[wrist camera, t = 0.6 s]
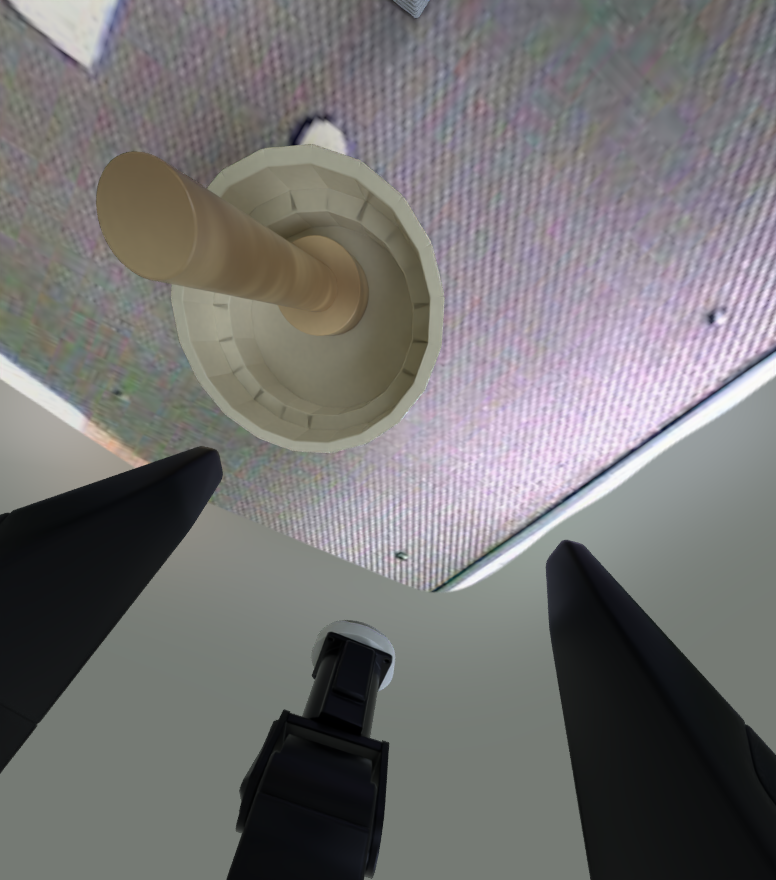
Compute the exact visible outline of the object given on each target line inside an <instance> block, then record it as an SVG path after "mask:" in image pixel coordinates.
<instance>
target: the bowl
mask: <svg viewBox="0 0 776 880" xmlns="http://www.w3.org/2000/svg"><path fill="white" fill-rule="evenodd" d="M207 189H208V190H210V191H211V192H213V193H214V194H216V195H217V196H219V197H221V198H222V199H224V200H225V201H227V202H228V203H230V204H231V205H233V206H235V207H236V208H238V209H239V210H241V211H242V212H244V213H245V214H247V215H249V216H250V217H252V218H253V219H255V220H256V221H258V222H259V223H261V224H263V225H264V226H266V227H267V228H269V229H270V230H272V231H273V232H275V233H277V234H278V235H280V236H281V237H283V238H284V239H286V240H287V241H289V242H291V243H292V242H293V241H295V240H297V239H299V238H301V237H304V236H308V235H320V236H325V237H328V238H330V239H333V240H334V241H336V242H338V243H339V244H340V245H342V246H343V247H344V248H345V249H346V250H347V251H348V252H349V253H350V254H351V255H352V256H353V257H354V258H355V259H356V260H357V261H358V262H359V264H360V265H361V267H362V268H363V270H364V272H365V275H366V278H367V282H368V287H369V299H368V304H367V308H366V311H365V313H364V315H363V317H362V319H361V320H360V322H359V323H358V324H357V325H356V326H355V327H354V328H353V329H351V330H350V331H348V332H346V333H344V334H341V335H336V336H315V335H309V334H306V333H304V332H301V331H300V330H298V329H296V328H295V327H294V326H292V325H291V324H290V323H289V322H288V321H287V320H286V318H285V317H284V316H283V314H282V313H281V311H280V309H279V307H278V305H275V304H270V303H265V302H260V301H255V300H250V299H245V298H240V297H235V296H230V295H225V294H219V293H214V292H209V291H204V290H199V289H194V288H189V287H184V286H179V285H174V284H172V288H171V298H172V299H171V303H172V308H173V313H174V318H175V323H176V328H177V333H178V338H179V342H180V343H181V347H182V349H183V351H184V353H185V355H186V357H187V359H188V361H189V363H190V365H191V368H192V370H193V372H194V374H195V376H196V378H197V380H198V382H200V385H201V386H202V387H203V388H204V390H205V391H206V392H207V393H208V395H209V396H210V397H211V398H212V399H213V401H214V402H215V403H216V404H217V405H218V407H219V408H220V409H221V410H222V412H223V413H224V414H226V416H228V417H229V418H230V419H232V420H233V421H234V422H236V423H237V424H239V425H240V426H241V427H243V428H244V429H246V430H247V431H248V432H250V433H251V434H252V435H254V436H255V437H258V438H259V439H262V440H264V441H267V442H270V443H272V444H275V445H278V446H280V447H283V448H286V449H289V450H291V451H300V452H316V453H333V452H337V451H341V450H345V449H349V448H353V447H357V446H361V445H364V444H367V443H369V442H370V441H372V440H373V439H375V438H376V437H378V436H379V435H381V434H383V433H384V432H386V431H387V430H389V429H390V428H392V427H393V426H395V425H396V424H398V423H399V422H400V421H401V420H402V418H403V417H404V416H405V415H406V413H407V412H408V411H409V410H410V408H411V407H412V406H413V405H414V403H415V402H416V401H417V400H418V398H419V397H420V396H421V395H422V393H423V392H424V391H425V389H426V387H427V384H428V381H429V379H430V376H431V373H432V371H433V368H434V365H435V363H436V360H437V357H438V355H439V352H440V349H441V345H442V333H443V316H444V299H445V297H444V291H443V287H442V283H441V278H440V274H439V270H438V266H437V262H436V258H435V254H434V249H433V245H432V244H431V241H430V239H429V237H428V236H427V234H426V232H425V231H424V229H423V227H422V226H421V224H420V222H419V221H418V219H417V218H416V216H415V214H414V213H413V211H412V209H411V208H410V206H409V204H408V203H407V201H406V199H405V198H404V197H403V196H402V194H401V193H399V192H398V191H397V190H396V189H395V188H393V187H392V186H391V185H390V184H389V183H387V182H386V181H385V180H384V179H383V178H381V177H380V176H379V175H378V174H377V173H375V172H374V171H373V170H372V169H371V168H369V167H368V166H367V165H366V164H365V163H363V162H361V161H360V160H358V159H355V158H352V157H349V156H346V155H343V154H340V153H337V152H334V151H331V150H328V149H325V148H322V147H319V146H316V145H311V144H308V145H295V146H283V147H271V148H264V149H260V150H259V151H257V152H255V153H253V154H251V155H249V156H247V157H245V158H244V159H242V160H240V161H238V162H236V163H234V164H232V165H231V166H229V167H227V168H225V169H223V170H222V172H220V173H219V174H218V175H217V176H216V178H215V179H214V180H213V181H212V182H211V184H210V185H209V186H208V187H207Z"/></svg>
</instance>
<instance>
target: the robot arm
mask: <svg viewBox="0 0 776 880" xmlns="http://www.w3.org/2000/svg"><path fill="white" fill-rule="evenodd" d="M222 476H223V471H222V466H221V461H220V456H219V453H218V451H217V450H215V449H212V448H208V447H204V446H199V447H196V448H193V449H190V450H187V451H184V452H182V453H179V454H176V455H173V456H170V457H167V458H164V459H161V460H158V461H155V462H153V463H150V464H147V465H144V466H141V467H138V468H135V469H132V470H129V471H126V472H124V473H121V474H118V475H115V476H112V477H109V478H106V479H103V480H100V481H98V482H94V483H92V484H89V485H86V486H83V487H80V488H77V489H74V490H71V491H68V492H65V493H63V494H60V495H57V496H54V497H51V498H48V499H45V500H42V501H39V502H37V503H33V504H31V505H28V506H25V507H22V508H19V509H16V510H13V511H12V512H11V513H4V514H1V515H0V773H1V772H2V771H3V769H4V768H5V767H6V765H7V764H8V763H9V762H10V760H11V759H12V757H14V755H15V754H16V752H17V751H18V750H19V749H20V748H21V746H22V745H23V744H24V742H25V741H26V740H27V739H28V737H29V736H30V735H31V733H32V732H33V731H34V730H35V728H36V727H37V724H38V723H39V722H40V721H41V720H42V719H43V718H44V716H45V715H46V714H47V712H48V711H49V710H50V708H51V707H52V706H53V705H54V704H55V702H56V701H57V700H58V698H59V697H60V696H61V695H62V693H63V692H64V691H65V689H66V688H67V687H68V686H69V684H70V683H71V681H73V679H74V678H75V677H76V675H77V674H78V673H79V672H80V670H81V669H82V668H83V666H84V665H85V664H86V663H87V661H88V660H89V659H90V657H91V656H92V655H93V654H94V652H95V651H96V650H97V648H98V647H99V646H100V645H101V643H102V642H103V641H104V639H105V638H106V637H107V635H108V634H109V633H110V632H111V630H112V629H113V628H114V627H115V625H116V624H117V623H118V622H119V620H120V619H121V618H122V616H123V615H124V614H125V613H126V611H127V610H128V609H129V607H130V606H131V605H132V604H133V602H134V601H135V600H136V599H137V597H138V596H139V595H140V593H141V592H142V591H143V589H144V588H145V587H146V586H147V584H148V583H149V582H150V581H151V579H152V578H153V577H154V575H155V574H156V573H157V572H158V570H159V569H160V568H161V566H162V565H163V564H164V563H165V561H166V560H167V558H168V557H169V556H170V555H171V554H172V552H173V551H174V550H175V549H176V547H177V546H178V545H179V543H180V542H181V541H182V539H183V538H184V537H185V536H186V534H187V533H188V532H189V530H190V529H191V527H192V526H193V524H194V523H195V521H196V520H197V518H198V517H199V515H200V513H201V512H202V510H203V509H204V507H205V505H206V504H207V502H208V501H209V499H210V498H211V496H212V494H213V493H214V491H215V490H216V488H217V486H218V485H219V483H220V481H221V479H222ZM546 579H547V594H548V595H547V596H548V613H549V628H550V635H551V643H552V649H553V654H554V661H555V667H556V672H557V678H558V685H559V691H560V697H561V703H562V709H563V715H564V721H565V728H566V734H567V739H568V746H569V752H570V758H571V764H572V770H573V776H574V782H575V789H576V794H577V801H578V807H579V813H580V819H581V825H582V831H583V837H584V842H585V849H586V855H587V861H588V867H589V873H590V879H591V880H776V755H775V754H774V753H773V751H772V750H771V749H770V748H769V747H768V746H767V745H766V744H765V743H764V741H763V740H762V739H761V738H760V737H759V736H758V735H757V734H756V733H755V732H754V731H753V729H752V728H751V727H750V726H748V725H746V724H745V722H744V720H743V719H742V718H741V717H740V715H739V714H738V713H737V712H736V711H735V710H734V709H733V708H732V707H731V706H730V704H728V702H727V701H726V700H725V699H724V698H723V697H722V696H721V695H720V694H719V692H718V691H717V690H716V689H715V688H714V687H713V686H712V685H711V684H710V683H709V682H708V680H707V679H706V678H705V677H704V676H703V675H702V674H701V673H700V672H699V671H698V670H697V668H696V667H695V666H694V665H693V664H692V663H691V662H690V661H689V660H688V659H687V657H686V656H685V655H684V654H683V653H682V652H681V651H680V650H679V649H678V648H677V647H676V645H675V644H674V643H673V642H672V641H671V640H670V639H669V638H668V637H667V636H666V635H665V634H664V632H663V631H662V630H661V629H660V628H659V627H658V626H657V625H656V624H655V623H654V621H653V620H652V619H651V618H650V617H649V616H648V615H647V614H646V613H645V612H644V610H643V609H642V608H641V607H640V606H639V605H638V604H637V603H636V602H635V601H634V600H633V598H632V597H631V596H630V595H629V594H628V593H627V592H626V591H625V590H624V589H623V587H622V586H621V585H620V584H619V583H618V582H617V581H616V580H615V579H614V578H613V577H612V576H611V574H610V573H609V572H608V571H607V570H606V569H605V568H604V567H603V566H602V565H601V563H600V562H599V561H598V560H597V559H596V558H595V557H594V556H593V555H592V554H591V552H590V551H589V550H588V549H587V548H586V547H585V546H584V545H582V544H580V543H577V542H573V541H569V540H563V541H561V543H560V544H559V545H558V546H557V547H556V549H555V550H554V551H553V553H552V554H551V555H550V556H549V558H548V560H547V563H546ZM392 660H393V657H392V655H391V654H389V653H386V652H384V651H381V650H379V649H376V648H374V647H371V646H368V645H366V644H363V643H361V642H358V641H355V640H353V639H350V638H348V637H345V636H343V635H340V634H337V633H335V632H328V633H327V635H326V638H325V641H324V643H323V646H322V649H321V652H320V654H319V657H318V660H317V663H316V665H315V668H314V671H313V674H312V677H313V678H314V679H315V681H314V684H313V687H312V690H311V693H310V696H309V698H308V701H307V704H306V707H305V710H304V713H303V716H298V715H295V714H292V713H290V711H287V710H285V709H284V710H283V712H282V714H281V716H280V718H279V720H276V721H274V722H273V724H272V726H271V729H270V731H269V733H268V736H267V738H266V741H265V743H264V745H263V747H262V749H261V751H260V752H259V754H258V756H257V757H256V759H255V761H254V762H253V764H252V766H251V768H250V769H249V771H248V773H247V774H246V776H245V778H244V779H243V782H242V784H241V787H240V790H239V792H240V797H241V806H240V810H239V817H238V820H237V825H236V831H237V832H239V833H242V836H241V839H240V841H239V844H238V847H237V850H236V853H235V856H234V859H233V862H232V865H231V868H230V870H229V873H228V876H227V880H364V876H365V877H368V878H371V879H372V878H373V875H374V873H375V868H376V864H377V859H378V854H379V848H380V842H381V835H382V828H383V821H384V810H385V797H386V783H387V768H388V767H387V766H388V751H389V742H386V741H383V740H382V742H381V741H378V740H374V739H371V738H370V734H371V728H372V722H373V716H374V710H375V704H376V697H377V692H378V690H379V688H380V686H381V684H382V682H383V680H384V678H385V676H386V674H387V672H388V670H389V668H390V666H391V664H392Z"/></svg>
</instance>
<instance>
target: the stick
mask: <svg viewBox="0 0 776 880" xmlns="http://www.w3.org/2000/svg"><path fill="white" fill-rule="evenodd" d="M96 206H97V215H98V220H99V224H100V227H101V230H102V233H103V235H104V238H105V240H106V242H107V244H108V245H109V247H110V249H111V250H112V252H113V253H114V254H115V256H116V257H117V258H118V259H119V260H120V262H121V263H123V264H124V265H125V266H126V267H127V268H128V269H130V270H131V271H132V272H134V273H135V274H137V275H139V276H141V277H143V278H146V279H149V280H153V281H158V282H163V283H168V284H174V285H179V286H184V287H189V288H194V289H199V290H204V291H209V292H214V293H219V294H225V295H230V296H235V297H240V298H245V299H250V300H255V301H260V302H265V303H270V304H275V305H278V307H279V309H280V311H281V313H282V314H283V316H284V317H285V318H286V320H287V321H288V322H289V323H290V324H291V325H292V326H294V327H295V328H296V329H298V330H300V331H301V332H304V333H306V334H309V335H315V336H336V335H341V334H344V333H346V332H348V331H350V330H351V329H353V328H354V327H355V326H356V325H357V324H358V323H359V322H360V320H361V319H362V317H363V315H364V313H365V311H366V308H367V304H368V299H369V287H368V282H367V278H366V275H365V272H364V270H363V268H362V267H361V265H360V264H359V262H358V261H357V260H356V259H355V258H354V257H353V256H352V255H351V254H350V253H349V252H348V251H347V250H346V249H345V248H344V247H343V246H342V245H340V244H339V243H338V242H336V241H334V240H333V239H330V238H328V237H325V236H320V235H308V236H304V237H301V238H299V239H297V240H295V241H293V242H292V243H291V242H289V241H287V240H286V239H284V238H283V237H281V236H280V235H278V234H277V233H275V232H273V231H272V230H270V229H269V228H267V227H266V226H264V225H263V224H261V223H259V222H258V221H256V220H255V219H253V218H252V217H250V216H249V215H247V214H245V213H244V212H242V211H241V210H239V209H238V208H236V207H235V206H233V205H231V204H230V203H228V202H227V201H225V200H224V199H222V198H221V197H219V196H217V195H216V194H214V193H213V192H211V191H210V190H208V189H207V188H205V187H204V186H202V185H200V184H199V183H197V182H196V181H194V180H193V179H191V178H190V177H188V176H186V175H185V174H183V173H182V172H180V171H179V170H177V169H176V168H174V167H172V166H171V165H169V164H168V163H166V162H165V161H163V160H161V159H160V158H158V157H156V156H154V155H152V154H149V153H145V152H137V151H133V152H126V153H123V154H120V155H119V156H117V157H115V158H114V159H113V160H111V161H110V162H109V164H108V165H107V166H106V167H105V169H104V171H103V172H102V175H101V177H100V180H99V183H98V187H97V195H96Z"/></svg>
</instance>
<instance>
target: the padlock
mask: <svg viewBox="0 0 776 880" xmlns="http://www.w3.org/2000/svg"><path fill="white" fill-rule="evenodd" d="M393 1H394V2H395V3H397V4H398V5H399V6H400V7H402V8H403V9H404V10H406V11H407V12H408V13H409V14H411V15H412V16H413V17H414V18H418V17H419V16H420V15H421V13H422V12H423V10H424V8H425V7H426V5H427V4H428V2H429V1H430V0H393Z"/></svg>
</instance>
